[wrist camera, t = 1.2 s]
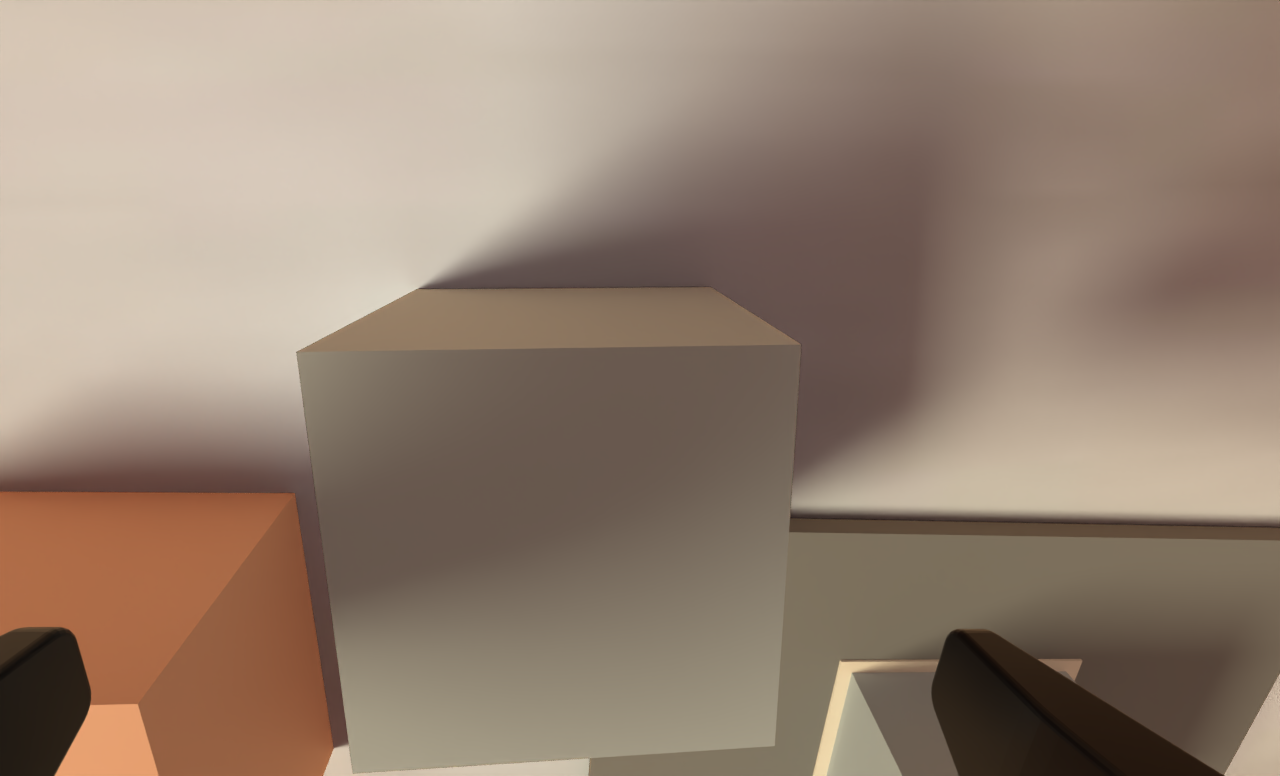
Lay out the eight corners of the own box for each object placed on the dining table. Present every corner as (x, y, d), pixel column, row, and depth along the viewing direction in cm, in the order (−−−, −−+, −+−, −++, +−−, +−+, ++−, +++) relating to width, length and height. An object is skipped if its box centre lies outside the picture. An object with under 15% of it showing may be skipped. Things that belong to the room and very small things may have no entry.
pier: (703, 546, 13) (775, 746, 8) (439, 557, 13) (352, 773, 8) (710, 286, 12) (801, 344, 7) (416, 289, 11) (296, 351, 7)
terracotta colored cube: (336, 742, 15) (229, 1019, 10) (19, 752, 14) (-242, 1051, 10) (297, 489, 13) (137, 703, 8) (-85, 487, 12) (-494, 718, 7)
